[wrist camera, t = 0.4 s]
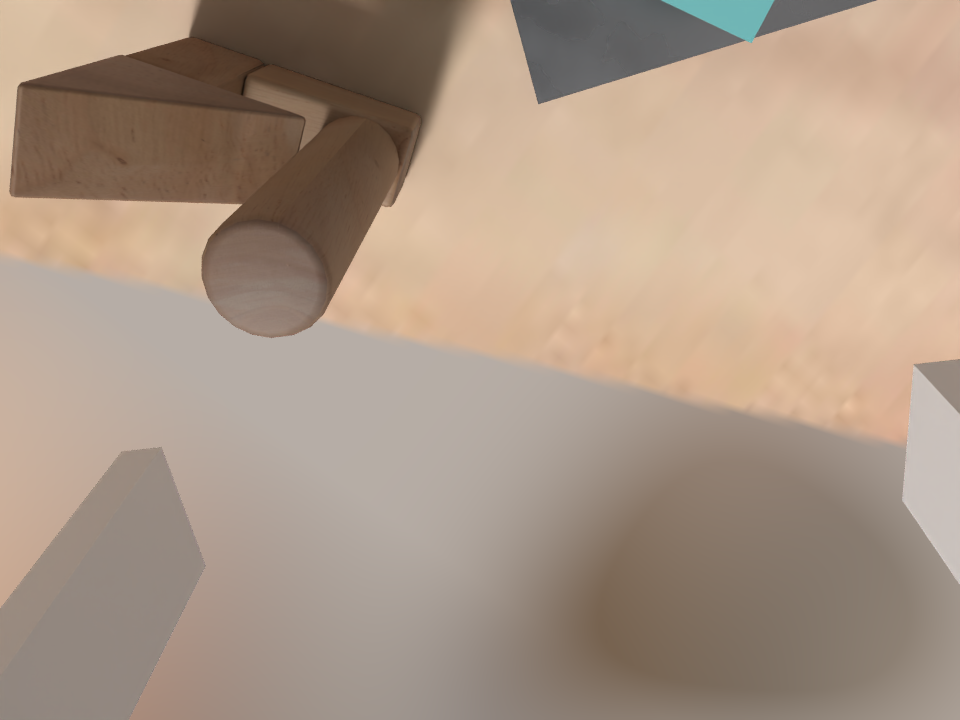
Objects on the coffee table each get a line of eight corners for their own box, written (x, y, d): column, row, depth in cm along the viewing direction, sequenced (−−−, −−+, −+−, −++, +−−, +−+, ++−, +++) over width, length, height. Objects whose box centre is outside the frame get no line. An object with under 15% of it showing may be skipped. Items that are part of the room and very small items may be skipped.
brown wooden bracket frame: (188, 33, 37) (-70, 103, 21) (424, 113, 38) (352, 240, 22) (175, 114, 38) (-74, 239, 22) (401, 190, 40) (320, 360, 23)
